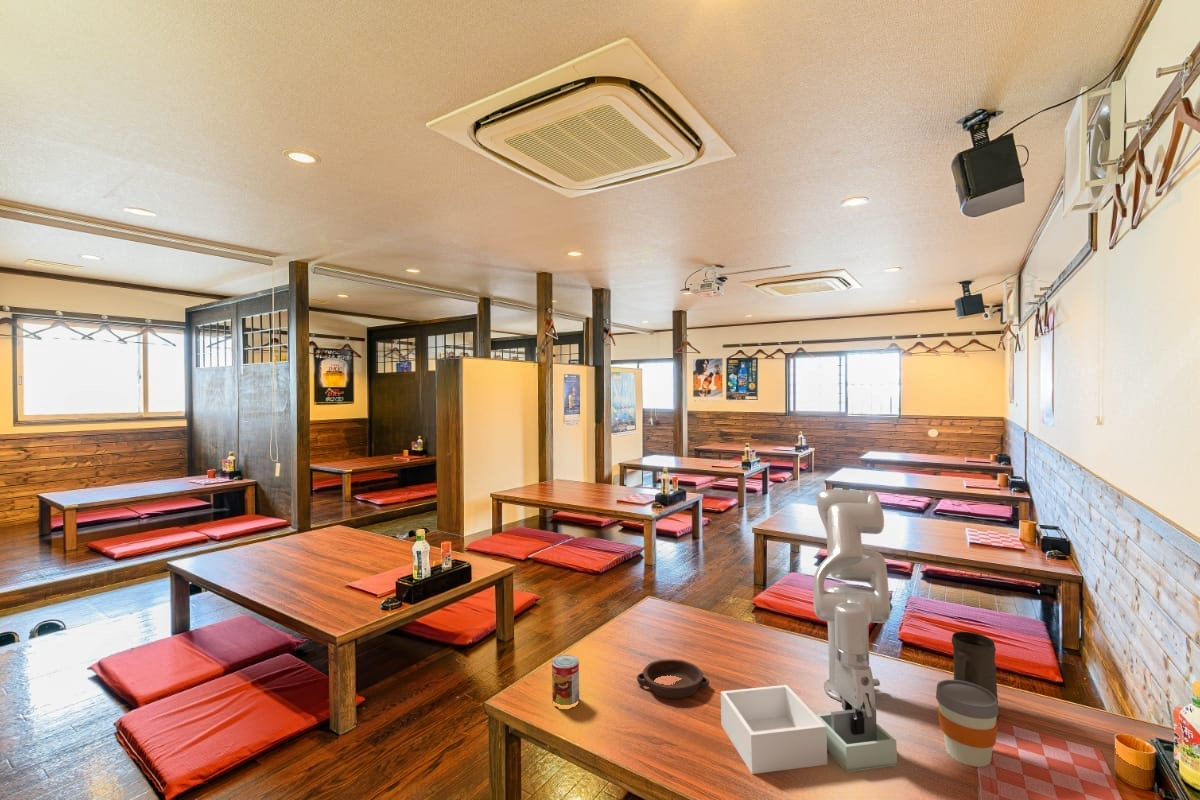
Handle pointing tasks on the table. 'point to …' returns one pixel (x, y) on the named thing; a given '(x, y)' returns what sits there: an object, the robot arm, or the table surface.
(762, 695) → the big crate
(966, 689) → the reusable coffee cup
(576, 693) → the canned food
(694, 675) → the dish
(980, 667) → the beer stein
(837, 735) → the small crate
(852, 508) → the robot arm
